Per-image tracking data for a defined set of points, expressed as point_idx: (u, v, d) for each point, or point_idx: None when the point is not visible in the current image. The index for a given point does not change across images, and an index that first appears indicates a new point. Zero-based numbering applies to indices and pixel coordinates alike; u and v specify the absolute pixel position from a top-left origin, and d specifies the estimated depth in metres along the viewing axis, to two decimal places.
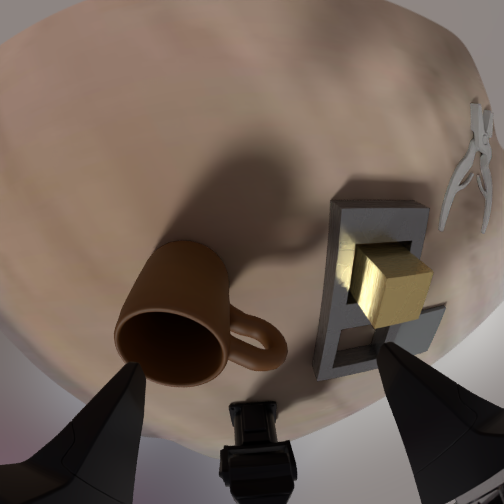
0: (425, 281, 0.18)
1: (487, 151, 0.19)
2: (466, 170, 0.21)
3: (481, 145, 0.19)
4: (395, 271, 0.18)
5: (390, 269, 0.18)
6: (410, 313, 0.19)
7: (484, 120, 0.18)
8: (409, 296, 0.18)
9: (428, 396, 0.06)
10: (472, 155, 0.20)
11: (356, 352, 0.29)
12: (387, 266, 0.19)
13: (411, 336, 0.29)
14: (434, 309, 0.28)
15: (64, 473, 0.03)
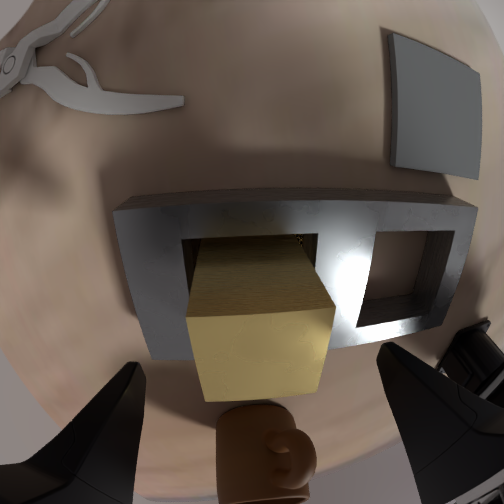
0: (213, 332, 0.08)
1: (23, 47, 0.07)
2: (61, 78, 0.09)
3: (16, 71, 0.07)
4: None
5: None
6: (306, 338, 0.09)
7: None
8: (250, 359, 0.09)
9: (428, 396, 0.06)
10: (39, 73, 0.09)
11: (430, 253, 0.15)
12: None
13: (443, 123, 0.11)
14: (393, 65, 0.10)
15: (65, 473, 0.03)
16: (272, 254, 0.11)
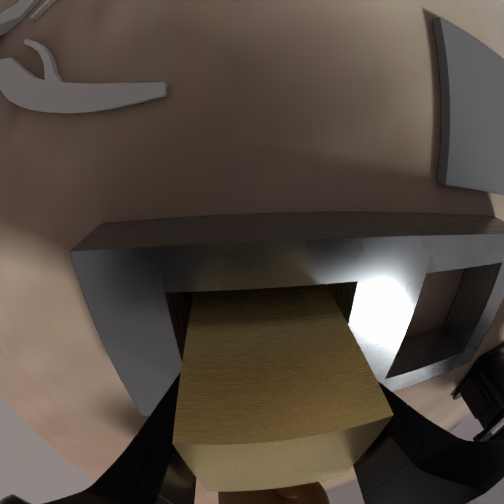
0: (215, 455, 0.04)
1: None
2: (16, 71, 0.05)
3: None
4: None
5: None
6: (345, 447, 0.05)
7: None
8: (267, 469, 0.05)
9: None
10: None
11: (469, 284, 0.11)
12: None
13: (493, 132, 0.08)
14: (442, 56, 0.07)
15: (145, 495, 0.03)
16: (295, 316, 0.08)
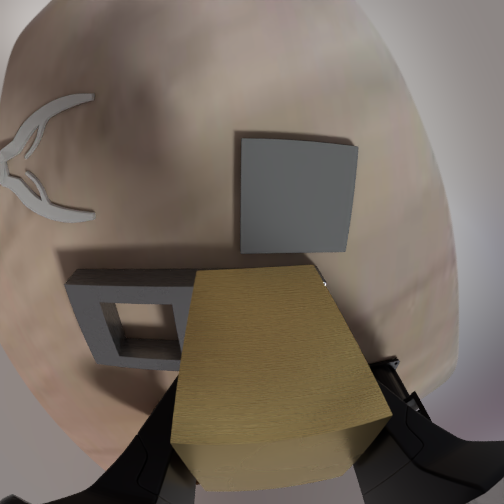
0: (213, 455, 0.04)
1: None
2: (25, 190, 0.16)
3: None
4: None
5: None
6: (343, 447, 0.05)
7: None
8: (266, 469, 0.05)
9: None
10: (11, 182, 0.15)
11: None
12: None
13: (294, 211, 0.18)
14: (241, 170, 0.17)
15: (145, 495, 0.03)
16: (294, 316, 0.08)
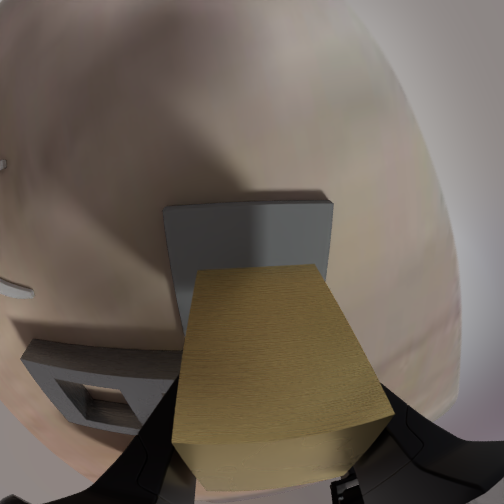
0: (214, 455, 0.04)
1: None
2: None
3: None
4: None
5: None
6: (345, 446, 0.05)
7: None
8: (267, 469, 0.05)
9: None
10: None
11: None
12: None
13: None
14: None
15: (145, 495, 0.03)
16: (296, 315, 0.08)
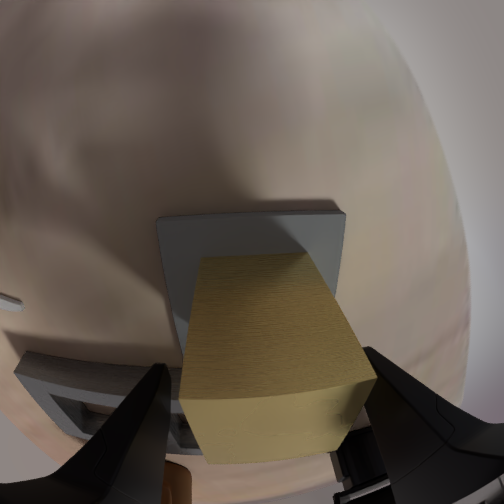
0: (216, 413, 0.05)
1: None
2: None
3: None
4: None
5: None
6: (335, 411, 0.06)
7: None
8: (264, 434, 0.06)
9: (403, 406, 0.06)
10: None
11: None
12: None
13: None
14: None
15: (99, 485, 0.03)
16: (289, 294, 0.09)
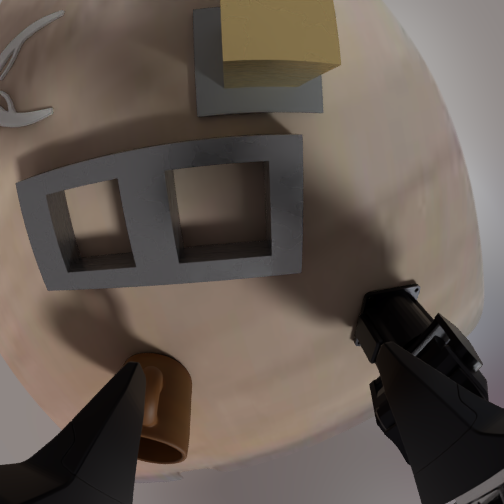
0: None
1: None
2: None
3: None
4: None
5: None
6: None
7: None
8: (270, 6, 0.07)
9: (428, 396, 0.06)
10: None
11: (266, 192, 0.17)
12: None
13: None
14: (194, 35, 0.13)
15: (64, 473, 0.03)
16: None
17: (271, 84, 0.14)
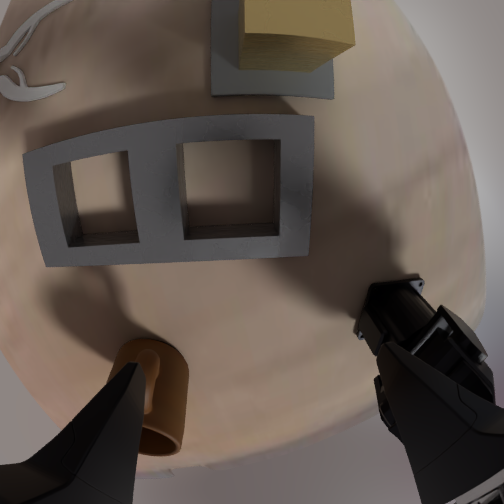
0: None
1: None
2: (7, 82, 0.11)
3: None
4: (243, 17, 0.08)
5: (243, 24, 0.08)
6: None
7: None
8: None
9: (428, 396, 0.06)
10: None
11: (275, 173, 0.17)
12: (242, 28, 0.09)
13: None
14: None
15: (64, 473, 0.03)
16: None
17: (285, 67, 0.13)
